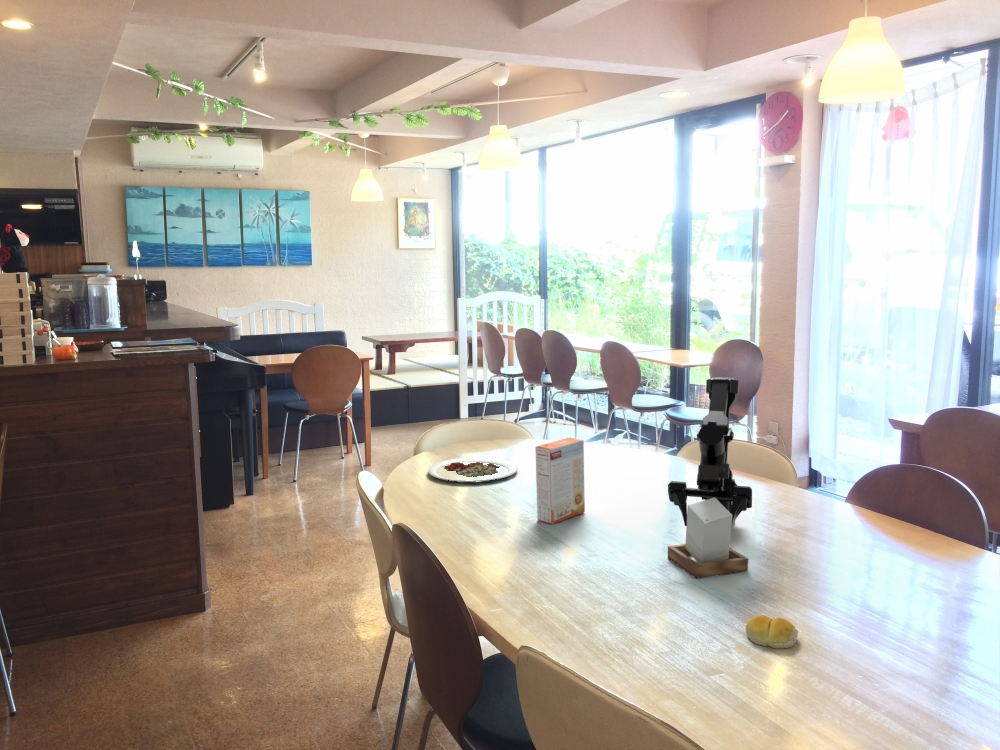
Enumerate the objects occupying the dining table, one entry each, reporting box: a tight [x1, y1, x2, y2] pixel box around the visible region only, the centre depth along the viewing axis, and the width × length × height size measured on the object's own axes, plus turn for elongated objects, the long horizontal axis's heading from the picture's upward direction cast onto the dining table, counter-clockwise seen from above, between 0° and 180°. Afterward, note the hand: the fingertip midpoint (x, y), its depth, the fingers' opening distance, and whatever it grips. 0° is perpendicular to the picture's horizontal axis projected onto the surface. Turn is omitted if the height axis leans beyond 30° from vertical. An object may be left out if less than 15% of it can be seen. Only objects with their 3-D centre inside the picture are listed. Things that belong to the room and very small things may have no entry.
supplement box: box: [685, 497, 733, 564], centre depth 181 cm, size 7×7×13 cm
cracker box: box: [535, 437, 586, 525], centre depth 219 cm, size 14×6×21 cm, turn 135°
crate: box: [667, 543, 749, 579], centre depth 184 cm, size 13×13×3 cm
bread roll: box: [745, 614, 799, 650], centre depth 148 cm, size 8×9×4 cm
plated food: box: [427, 456, 519, 483], centre depth 267 cm, size 30×30×3 cm
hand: (707, 527), depth 181 cm, fingers closed on supplement box, 9 cm apart
